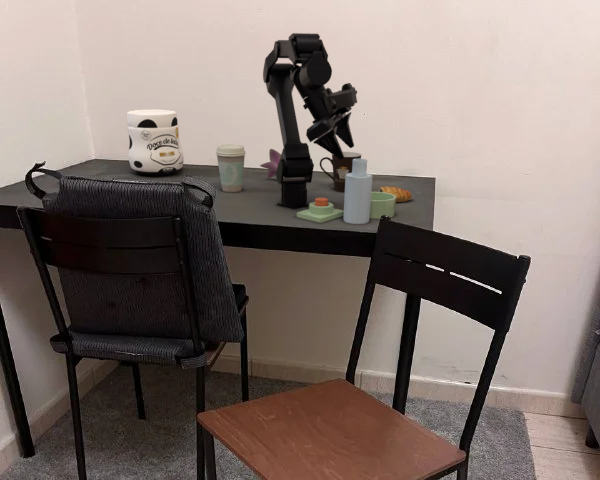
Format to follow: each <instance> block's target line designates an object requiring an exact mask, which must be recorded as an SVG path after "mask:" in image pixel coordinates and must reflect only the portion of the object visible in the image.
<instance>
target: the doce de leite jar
mask: <svg viewBox="0 0 600 480" xmlns="http://www.w3.org/2000/svg"><path fill="white" fill-rule="evenodd" d="M126 122H127V132H128V139H129V145H128V153H127V154H128V157H127V158H128V161H129V165H130V168H131V170H132V171H134V172H136V173H137V174H142V175H148V176H162V175H163V176H164V175H169V174H170V175H171V174H176V173H177V172H179V171H181V170H183V168H184V161H185V160H184V159H185V158H184V152H183V149H182V145H181V143H180V133H179V124H178V122H179V121H178V115H177V112H176V111H175V110H169V109H135V110H129V111H127V112H126Z"/></svg>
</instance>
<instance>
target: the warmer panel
mask: <svg viewBox="0 0 600 480" xmlns="http://www.w3.org/2000/svg"><path fill="white" fill-rule="evenodd" d="M309 203H310V204H309V205H308V209H304V210H300V211H297V212H296V218H300V219H303V220H308V221H311V222H314V223H315V222H316V223H319V224H322V223H325V222H329V221H331V220H335V219H339V218H341V217H343V216H344V209H343V210H342V209H339V208H334V207H335V204H333V203H332V202H329V201H328V206H315V201H313V202H309Z"/></svg>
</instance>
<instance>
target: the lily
mask: <svg viewBox="0 0 600 480" xmlns="http://www.w3.org/2000/svg"><path fill="white" fill-rule="evenodd" d="M268 154H269V155H268V156H269V161H267V162H264V163H262V164H260V165H259V167H261V168H264V169H267V173H266V179H267V180H269V179H271V178H273V177H275V176H276V171H277V167H278V164H279V160H280V157H281V154H282V153H280V152H279V151H277V150H275V149H274V148H270V149H269V152H268Z"/></svg>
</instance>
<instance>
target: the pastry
mask: <svg viewBox="0 0 600 480" xmlns="http://www.w3.org/2000/svg"><path fill="white" fill-rule="evenodd" d="M377 192H385V193H390V194H393V195H395V196H396V203H404V202H405V203H406V202H408V201H411V200H412V193H411V191H409V190H408V189H403V188H402V187H396V186H394V185H392V186H380V187H379V188H378V191H377Z"/></svg>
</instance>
